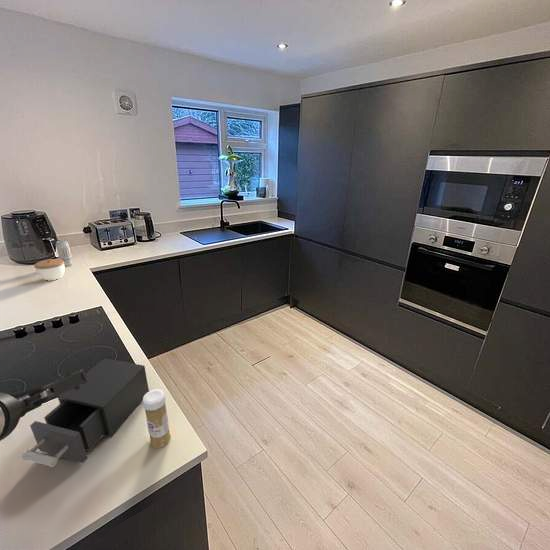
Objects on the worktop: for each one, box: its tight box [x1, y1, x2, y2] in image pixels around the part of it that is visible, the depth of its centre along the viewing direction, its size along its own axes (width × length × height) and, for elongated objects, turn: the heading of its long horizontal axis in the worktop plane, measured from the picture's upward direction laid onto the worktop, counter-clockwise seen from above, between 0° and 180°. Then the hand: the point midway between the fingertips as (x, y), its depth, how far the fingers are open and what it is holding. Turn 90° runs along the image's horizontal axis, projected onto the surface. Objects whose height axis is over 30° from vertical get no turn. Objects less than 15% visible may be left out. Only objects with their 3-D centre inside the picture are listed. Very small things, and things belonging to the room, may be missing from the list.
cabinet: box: [57, 357, 150, 438], centre depth 74 cm, size 15×13×10 cm
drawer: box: [21, 400, 107, 468], centre depth 65 cm, size 18×11×8 cm, turn 167°
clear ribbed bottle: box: [55, 239, 74, 267], centre depth 172 cm, size 6×6×15 cm
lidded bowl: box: [33, 258, 66, 282], centre depth 154 cm, size 13×13×11 cm
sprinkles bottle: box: [142, 388, 172, 449], centre depth 65 cm, size 5×5×13 cm
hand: (45, 391), depth 61 cm, fingers open, 13 cm apart
